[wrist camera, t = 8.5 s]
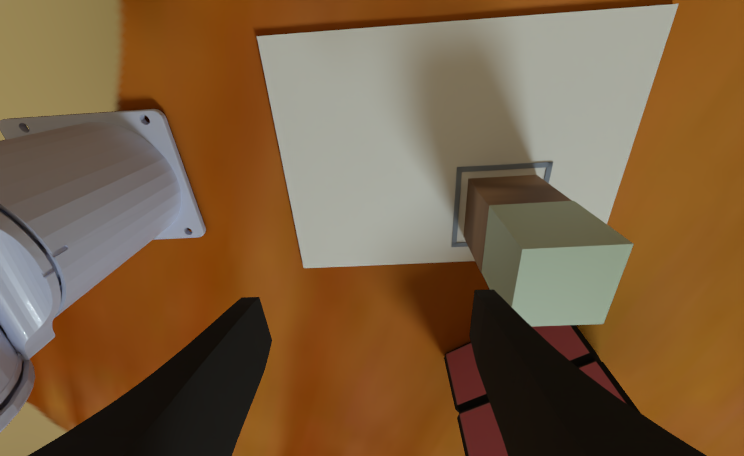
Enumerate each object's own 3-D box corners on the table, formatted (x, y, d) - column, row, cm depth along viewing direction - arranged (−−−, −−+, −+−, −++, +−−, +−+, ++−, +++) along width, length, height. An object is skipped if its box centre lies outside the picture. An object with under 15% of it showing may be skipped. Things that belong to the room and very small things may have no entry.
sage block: (481, 272, 17) (507, 327, 14) (489, 205, 15) (522, 249, 12) (556, 268, 17) (603, 323, 13) (573, 200, 15) (633, 243, 12)
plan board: (304, 265, 22) (303, 268, 22) (258, 36, 16) (255, 36, 15) (593, 253, 21) (597, 256, 21) (673, 4, 15) (680, 3, 15)
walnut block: (463, 236, 21) (480, 272, 17) (468, 178, 19) (489, 205, 15) (525, 233, 20) (556, 270, 17) (536, 174, 19) (573, 201, 15)
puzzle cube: (441, 352, 27) (472, 498, 18) (557, 299, 24) (663, 442, 15) (494, 411, 30) (542, 556, 21) (600, 371, 27) (706, 520, 18)
